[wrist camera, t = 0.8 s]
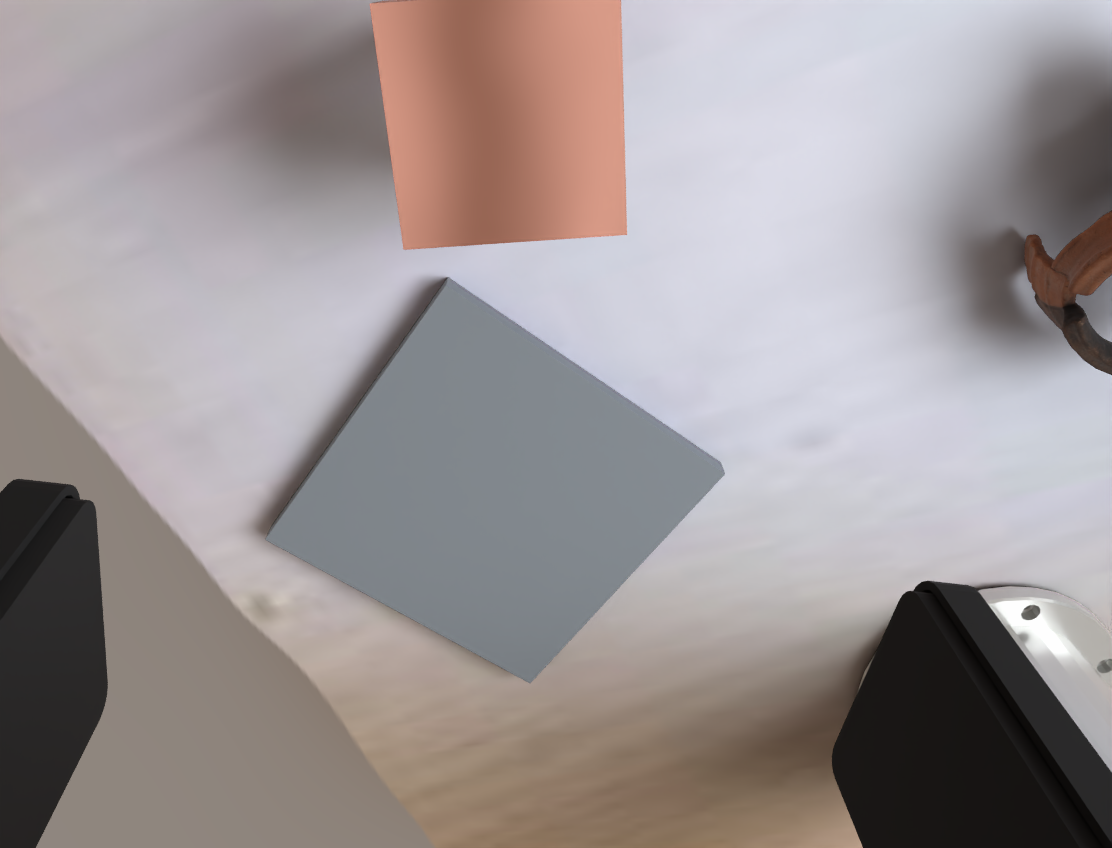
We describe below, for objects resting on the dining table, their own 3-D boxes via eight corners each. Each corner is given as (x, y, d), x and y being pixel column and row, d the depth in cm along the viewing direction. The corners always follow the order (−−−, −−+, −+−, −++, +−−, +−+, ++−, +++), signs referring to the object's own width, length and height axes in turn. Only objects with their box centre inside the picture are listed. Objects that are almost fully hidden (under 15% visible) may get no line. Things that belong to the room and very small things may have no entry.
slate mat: (720, 462, 39) (725, 473, 38) (530, 668, 44) (530, 683, 43) (447, 277, 35) (446, 285, 34) (271, 527, 40) (265, 539, 39)
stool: (597, -17, 31) (620, -14, 23) (604, 175, 33) (626, 234, 26) (408, -5, 31) (369, 3, 23) (431, 187, 33) (403, 249, 26)
